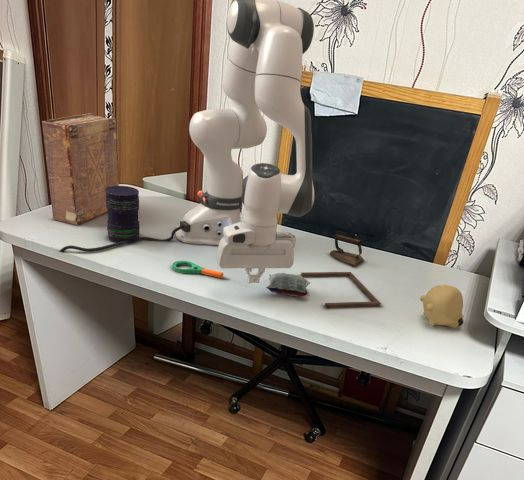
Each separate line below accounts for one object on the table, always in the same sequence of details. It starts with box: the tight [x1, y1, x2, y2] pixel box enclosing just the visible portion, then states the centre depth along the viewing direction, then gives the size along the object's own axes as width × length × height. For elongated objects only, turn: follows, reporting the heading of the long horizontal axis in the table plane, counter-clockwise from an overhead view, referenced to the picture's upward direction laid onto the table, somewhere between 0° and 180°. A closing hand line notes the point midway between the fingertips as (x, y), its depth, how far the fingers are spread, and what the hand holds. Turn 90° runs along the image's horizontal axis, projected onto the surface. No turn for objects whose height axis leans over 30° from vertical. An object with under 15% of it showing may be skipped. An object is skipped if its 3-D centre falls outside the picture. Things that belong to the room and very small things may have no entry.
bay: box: [300, 271, 382, 309], centre depth 142 cm, size 16×20×1 cm
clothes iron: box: [329, 233, 365, 268], centre depth 161 cm, size 7×11×10 cm, turn 57°
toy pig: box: [419, 284, 464, 328], centre depth 130 cm, size 10×12×11 cm
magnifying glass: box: [171, 260, 224, 279], centre depth 141 cm, size 15×6×2 cm, turn 71°
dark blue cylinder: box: [105, 185, 141, 245], centre depth 153 cm, size 10×10×15 cm
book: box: [41, 112, 120, 226], centre depth 165 cm, size 25×9×30 cm, turn 162°
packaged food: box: [265, 272, 311, 297], centre depth 137 cm, size 9×12×5 cm
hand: (253, 282), depth 133 cm, fingers closed
